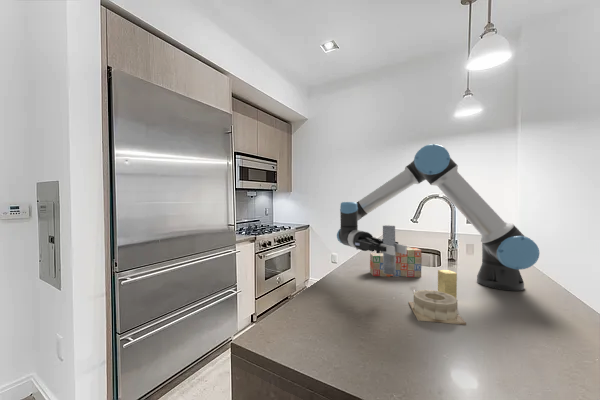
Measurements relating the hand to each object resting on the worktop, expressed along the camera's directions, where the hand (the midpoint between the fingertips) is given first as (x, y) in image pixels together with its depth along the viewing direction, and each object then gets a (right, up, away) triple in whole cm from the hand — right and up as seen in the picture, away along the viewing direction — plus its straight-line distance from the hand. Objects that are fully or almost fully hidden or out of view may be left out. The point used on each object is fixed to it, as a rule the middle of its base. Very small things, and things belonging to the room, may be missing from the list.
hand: (399, 250), depth 84 cm
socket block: (+9, -18, -5) cm, 21 cm away
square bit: (+18, -18, +4) cm, 26 cm away
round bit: (-2, -9, +5) cm, 10 cm away
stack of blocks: (+11, -18, +35) cm, 41 cm away
